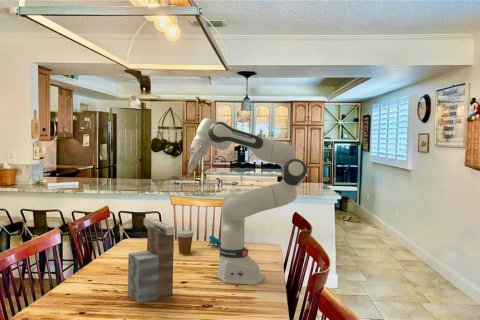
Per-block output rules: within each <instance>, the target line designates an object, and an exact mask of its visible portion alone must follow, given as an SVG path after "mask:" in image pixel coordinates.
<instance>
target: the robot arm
mask: <svg viewBox="0 0 480 320" xmlns="http://www.w3.org/2000/svg"><path fill="white" fill-rule="evenodd" d="M232 144H236V145H241V146H242V147H245V148H247V149H249V150H250V151H251V152H252V154H253V155H254V156H255V158H256V159H257V158H258V159H259V160H261V161H264V162H267V163H272V164H276V165H278V166H280V167H281V169H280V170H281V181H280V182H277V183H274V184H269V185H265V186H262V187H258V188H254V189H251V190H248V191H245V192H242V193H235V192H232V193H228V194H226V196H225V197H224V198H223V200H222V204H221V228H220V229H221V231H220V232H221V233H220V241H221V246H219V252H218V253H219V263H218V269H217V273H216V275H215V276H216V278H218V280H221V282H223V283H224V284H237V285H250V286H251V285H252V286H256V285H259V284H261V283H262V282H263V281H264V279H265V275H264V273H262V272H260V267H259V266H260V265H259V264H258V263H257V262H256V261H255V259H253V258H251V256H250V255H249V248H246V246H245V231H246V230H245V229H246V228H245V222H246V221H245V218H247V217H250V216H253V215H255V214H258V213H261V212H264V211H268V210H272V209H277V208H281V207H283V206H287V205H288V204H291V203H292V202H295V200H296V199H297V196H298V193H297V187H298V186H300V185H301V184H302V182H304V181H305V178H306V177H307V174H308V173H307V172H308V170H307V165H306V164H305V162H304V161H303V160H300V159H299V158H296V149H295V148H294V147H293V146H292V145H290V144H287V143H285V142H282V141H278V140H274V139H270V138H266V137H262V136H259V135H255V134H252V133H249V132H245V131H243V130H240V129H237V128H234V127H231V126H230V125H229V124H227V123H226V122H224V121H217V120H216V119H214V118H212V117H207V118H204V119H202V120H201V121H200V124H199V125H198V128H197V130H196V132H195V137H193V139H192V142H191V145H190V147H189V150H190V157H189V161H188V165H187V168H188V170H187V174H186V176H187V177H191V175H192V173H193V172H194V170H195V169H196V167H197V166H198V164H199V162H200V161H201V158H204V156H206V155H208V152H209V149H210V147H211V146H212V147H213V148H215V149H218V150H219V151H225V150H228V149H229V148H230V147H231V145H232Z"/></svg>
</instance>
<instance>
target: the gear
mask: <svg viewBox="0 0 480 320" xmlns="http://www.w3.org/2000/svg"><path fill="white" fill-rule="evenodd" d="M208 239H209V240H208V245H207V247H209V246H210V245H211V246H210V248H211V249H213V248H214V246H215V245H216V246H219V247H220V246H221V240H219V238H217V237H215V236H213V235H209V236H208Z"/></svg>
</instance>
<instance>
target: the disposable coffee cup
mask: <svg viewBox="0 0 480 320" xmlns="http://www.w3.org/2000/svg"><path fill="white" fill-rule="evenodd" d="M176 236H177V243H178V244H177V245H178V253H179V254H181V255H189V254H190V253H191V252H192V251H191V249H192V242H193V237H194V231H193V230H186V229H183V230H178V231H177V233H176Z"/></svg>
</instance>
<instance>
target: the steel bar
mask: <svg viewBox="0 0 480 320" xmlns="http://www.w3.org/2000/svg"><path fill="white" fill-rule="evenodd" d="M148 225H150V226H152V227H154V228H157V229H159V230H161V233H163V234H165V235H173V234H174V235H175V227H174V226H173V225H170V224H167V223H164V222H163V221H160V220H158V219H154V218H152V217H144V218H143V226H145V227H147V228H148Z"/></svg>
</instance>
